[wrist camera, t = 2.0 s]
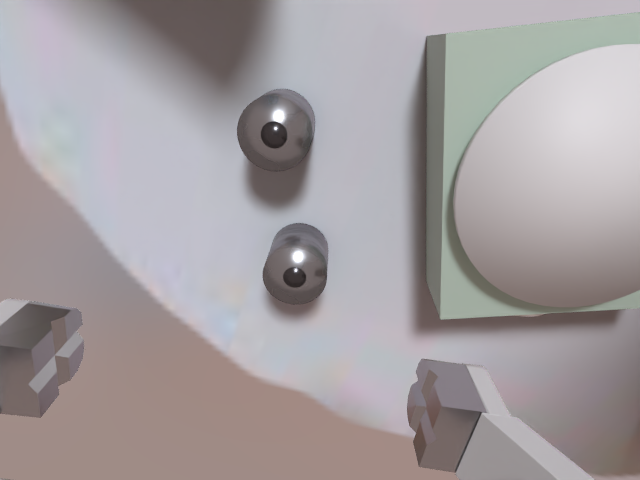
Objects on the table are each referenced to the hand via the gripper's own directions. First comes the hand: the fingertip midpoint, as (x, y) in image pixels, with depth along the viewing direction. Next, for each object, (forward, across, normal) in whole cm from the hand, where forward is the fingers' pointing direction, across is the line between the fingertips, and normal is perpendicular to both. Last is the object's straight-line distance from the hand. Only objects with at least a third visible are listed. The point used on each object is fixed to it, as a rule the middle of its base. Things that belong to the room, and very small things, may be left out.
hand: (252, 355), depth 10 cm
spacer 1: (+26, +2, -2) cm, 26 cm away
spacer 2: (+26, -1, +9) cm, 27 cm away
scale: (+25, -19, -2) cm, 31 cm away
